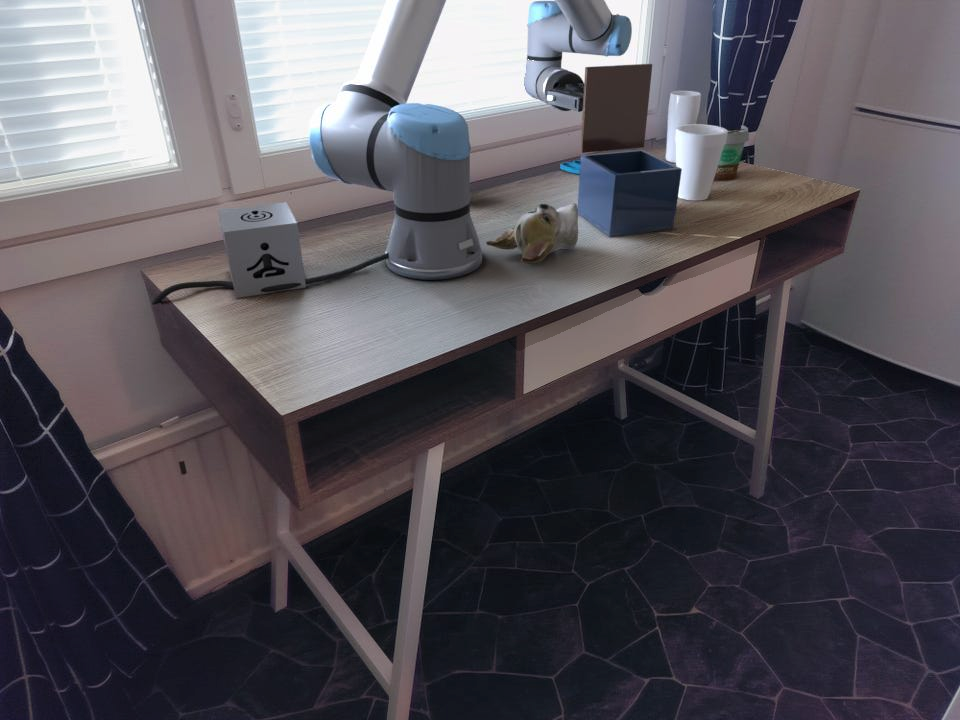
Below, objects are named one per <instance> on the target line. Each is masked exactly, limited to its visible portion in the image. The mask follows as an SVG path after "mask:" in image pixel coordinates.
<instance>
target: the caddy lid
mask: <svg viewBox="0 0 960 720" xmlns="http://www.w3.org/2000/svg"><path fill="white" fill-rule="evenodd" d="M652 71H653V63H637V64H636V63H635V64H620V65H619V64H616V65H599V66H598V65H597V66H585V67H584V80H583V82H584V98H583V111H582V114H581V115H582V117H581V131H580V133H581V134H580V149H579V150H580V153H581V154H584V153H585V154H586V153H597V152H609V151H620V150H630V149H632V150H633V149H642V148H645V141H646V133H647V132H646V131H647V122H648V113H649V103H650V92H651V83H652Z"/></svg>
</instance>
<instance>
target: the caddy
mask: <svg viewBox="0 0 960 720" xmlns="http://www.w3.org/2000/svg"><path fill="white" fill-rule="evenodd" d="M580 160H581V162H580V174H579V179H578V192H577V193H578V194H577V210H578V215H580V216H581V217H583V218H584V219H585V220H586V221H588V222H589V223H590V224H592V225H593V226H594V227H595V228H597V229H598V230H600V231H601V232H602V233H604V234H605V235H606V236H607V237H609V238H612V237H619V236H627V235H628V236H629V235H636V234H637V235H638V234H644V233H653V232H660V231H668V230H669V231H670V230H674V228H675V220H676V213H677V206H678V199H679V197H678V193H679V186H680V178H681V171H682V169H681V168H679V167H677V166H676V164H674V163H672V162H669V161H667V160H666V159H663V158H660V157H659V156H656V155H654V154H652V153H650V152H648V151H646V150H644V149H635V150H633V149H632V150H624V151H623V150H622V151H613V152H601V153H600V152H599V153H590V154H580Z"/></svg>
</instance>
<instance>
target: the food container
mask: <svg viewBox="0 0 960 720" xmlns="http://www.w3.org/2000/svg"><path fill="white" fill-rule="evenodd" d="M726 130H727V131H728V133H727V139H726V144H725V145H724V147H723V150H722V154H721V157H720V160H719V164H718V167H717V170H716V173H715V177H714V180H713V181H729V180H730V181H731V180H734V179H735V178H736V176H737V172H738V170H739V166H740V162H741V158H742V155H743V152H744V147H745V143H747V142H748V141H749V140H750V131H749V128H748V127H747V126H745V125H743V124H741V126H740V129H739V128H738V129H730V130H728V129H726Z"/></svg>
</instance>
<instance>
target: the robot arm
mask: <svg viewBox="0 0 960 720" xmlns="http://www.w3.org/2000/svg"><path fill="white" fill-rule="evenodd" d="M446 2H447V0H386V2H385V4H384V7H383V10H382V12H381V15H380V17H379V20H378V22H377V24H376V27H375V30H374V32H373V35H372V37H371V39H370V42H369V44H368V48H367V50H366V53H365V55H364V57H363V60H362V62H361V64H360V68H359V69H358V73H357V75H356V77H355V79H353V80H350V81H347V82H344V83H343V85H342V86H341V88H340V91H339V92H338V96H337V98H336V101H335V102H327V103H326V104H324V105H322V106H319V107H318V108H317V109H316V110H315V112H314V113H313V115H312V117H311V119H310V122H309V127H308V146H309V149H310V151H311V158H312V160H313V162H314V164H315V165H316V167H317V168H318V169H319V171H320V173H322V174H323V175H324V176H326V177H327V178H330V179H332V180H335V181H339V182H341V183H342V184H347V185H358V186H362V187H366V188H373V189H377V190H382V191H387V192H390V193H391V192H392V193H393V207H394V219H393V223H392V227H391V230H390V232H389V233H390V234H389V237H388V242H387V246H386V249H385V253H383V254H380V255H377V256H375V257H373V258H370V259H367V260H366V261H363V262H361V263H359V264H356V265H354V266H351V267H348V268H344V269H342V270H339V271H335V272H331V273H327V274H322V275H318V276H313V277H308V278H305V284H306V286H307V285H311V284H317V283H321V282H326V281H330V280H333V279H338V278H340V277H344V276H347V275H350V274H354V273H356V272H359V271H362V270H363V269H365V268H368V267H370V266H372V265H375V264H377V263H380V262H383V261H386V266H387V268H388V269H389V270H390V271H391V272H392V273H395V274H396V275H398V276H401V277H404V278H405V277H406V278H409V279H414V280H423V281H425V280H426V281H439V280H448V279H454V278H458V277H462V276H466V275H468V274H471V273H472V272H474V271H475V270H477V269H478V268H479V267H480V266H481V265H482V262H483V250H482V245H481V242H480V239H479V236H478V234H477V230H476V227H475V225H474V222H473V219H472V216H471V168H470V167H471V150H472V148H471V147H472V146H471V143H470V133H469V125H468V123H467V120H466V119H465V117H463V116H462V114H461V113H459V112H457V111H455V110H453V109H452V108H451V109H450V108H449V107H446V106H441V105H436V104H432V103H426V104H424V103H423V104H422V103H420V102H410V103H407V102H408V99H409V98H410V94H411V92H412V89H413V88H414V84H415V82H416V79H417V76H418V74H419V72H420V69H421V67H422V64H423V61H424V59H425V56H426V53H427V51H428V49H429V46H430V44H431V41H432V38H433V35H434V33H435V30H436V27H437V25H438V23H439V20H440V18H441V15H442V13H443V10H444V7H445V5H446ZM527 17H528V18H527V25H526V26H527V46H526V47H527V49H526V50H527V51H526V63H525V65H526V73H525V77H524V86H525V90H526V92H527V93H526V92H525V93H526V94H528V96H530V97H532V98H533V99H535V100H539V101H542V102H544V103H545V104H546V105H549V106H551V107H552V109H557V110H559V111H561V112H570V111H575V112H578V113H581V112H583V98H584V80H583V78H582V77H581V76H580V74H578V73H576V72H573V71H570V70H568V69H565V68H563V67H562V62H563V61H562V60H563V53H570V54H581V55H590V56H591V55H592V56H601V57H603V56H604V57H621V56H623V55H624V54H625V53H626V52H627V51H628V49H629V47H630V44H631V41H632V33H633V27H632V26H633V25H632V21H631V19H630V18H629V17H628V16H626V15H622V14H619V13H616V14H613V13H612V11H611V10H610V8H609V7H608V4H607V2H606V0H535V1H532V3H530V5H529V8H528V16H527ZM528 59H529V60H528ZM532 60H534V61H532ZM300 285H301V283H289V284H281V285H275V286H270V287H265V288H263V289H261V291H262V292H272V291H279V292H281V291H280V290H285V289H290V288H295V287H298V286H300ZM213 287H215V288H216V287H221V288H222V287H223V288H230V289H234V286H233V282H232V281H229V280H210V281H209V280H207V281H206V280H205V281H187V282H179V283H177V284H173V285H170V286H168V287H166V288H165V289H163V290H162V291H160V292H159V293H158V294H157V295H156V296H155V297H154V298H153V300H152V302H151V305H153V306H155V305H159V304H160V303H161V302H162V300H164V299H165V298H166V297H168V296H169V295H171V294H172V293H175V292H177V291H180V290H185V289H196V288H197V289H198V288H213ZM178 466H179V470H180V475H183V476H185V475H186V474H187V473H188V471H187V468H186V463H185V460H182V461H178Z"/></svg>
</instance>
